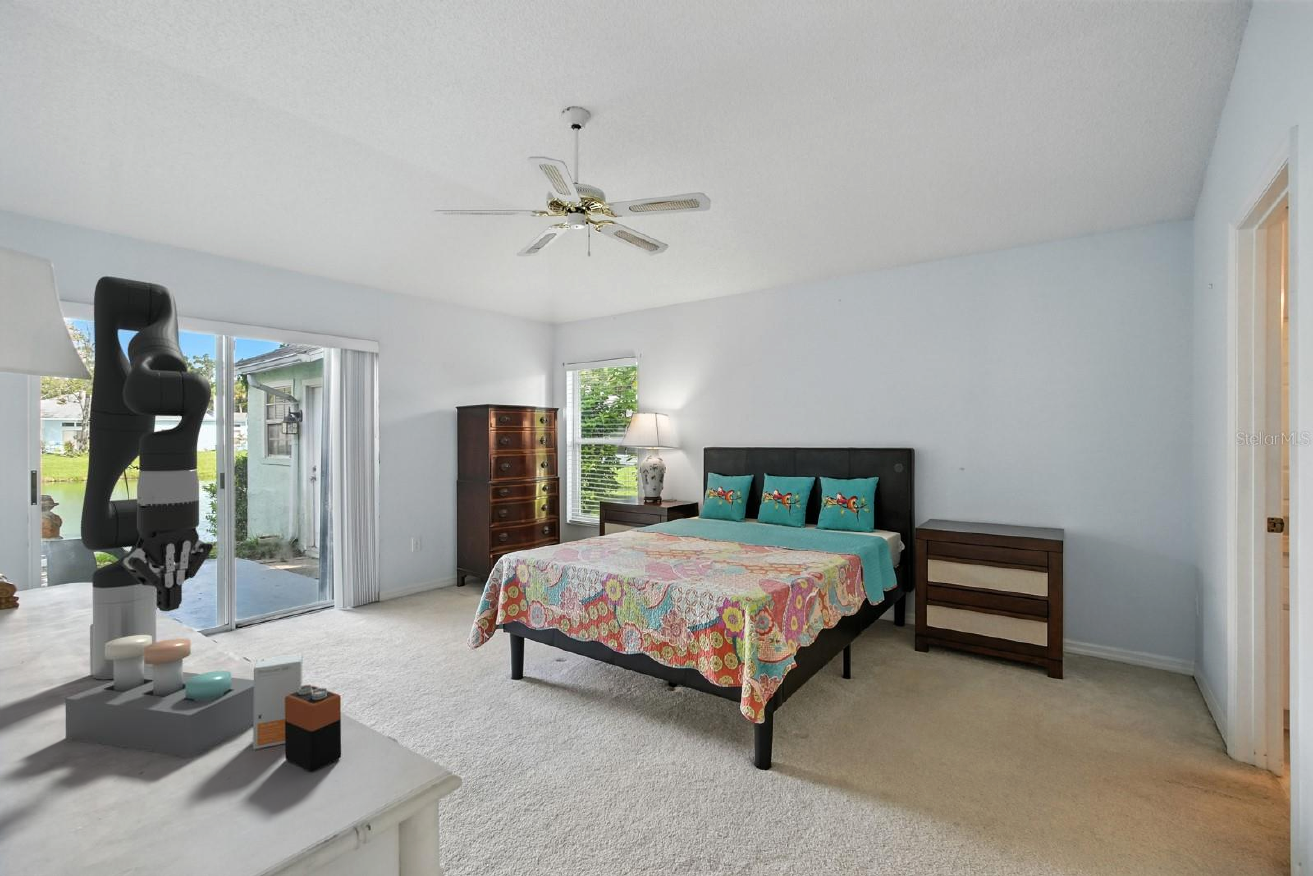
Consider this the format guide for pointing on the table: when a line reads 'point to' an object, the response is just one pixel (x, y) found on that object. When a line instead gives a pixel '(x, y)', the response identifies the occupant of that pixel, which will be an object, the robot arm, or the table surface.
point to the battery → (312, 727)
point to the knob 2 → (208, 685)
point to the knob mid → (167, 664)
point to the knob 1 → (128, 660)
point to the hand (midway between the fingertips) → (169, 609)
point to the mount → (159, 717)
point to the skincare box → (274, 696)
